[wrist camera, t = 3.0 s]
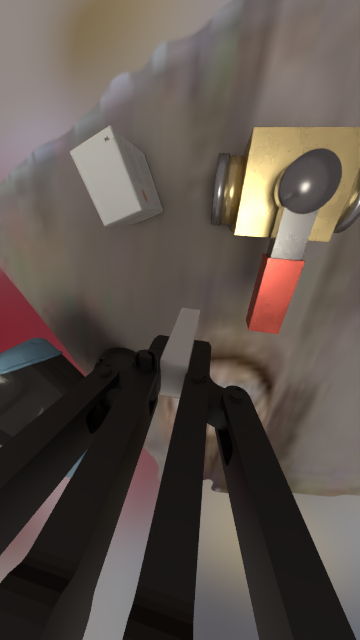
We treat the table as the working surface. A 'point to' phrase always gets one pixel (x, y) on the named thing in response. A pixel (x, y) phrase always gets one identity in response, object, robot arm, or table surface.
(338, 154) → the valve body
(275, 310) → the lever
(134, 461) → the robot arm
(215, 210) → the pipe
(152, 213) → the small box
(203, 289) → the table surface
